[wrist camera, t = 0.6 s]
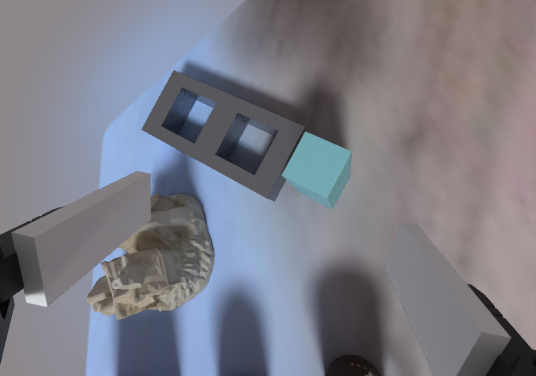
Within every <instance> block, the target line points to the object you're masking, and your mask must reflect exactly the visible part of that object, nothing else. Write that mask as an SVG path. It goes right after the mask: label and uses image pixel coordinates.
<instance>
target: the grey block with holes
mask: <svg viewBox="0 0 536 376" xmlns="http://www.w3.org/2000/svg"><path fill="white" fill-rule="evenodd" d="M196 100H197V101H200V102H202V103H204V104H206V105H208V106H210V107H213V108H214V109H213V111H212V112H211V114H210V116H209V118H208V120H207V122H206V123H205V125H204V127H203V129H202V131H201V133H200V135H199V136H198V138H197V140H196V142H195V144H194V143H192V142H190V141H188V140H186V139H185V138H183V137H181V136H179V135H178V133H179V131H180V129H181V127H182V125H183V124H184V122H185V120H186V118H187V116H188V114H189V112H190V111H191V109H192V107H193V105H194V103H195V101H196ZM247 124H250V125H252V126H254V127H256V128H258V129H261V130H263V131H265V132H267V133H269V134H271V135H274V136H276V137H275V138H274V140H273V142H272V144H271V146H270V148H269V150H268V151H267V153H266V155H265V157H264V159H263V161H262V163H261V164H260V166H259V168H258V170H257V172H256V174H255V175H253V174H251V173H249V172H247V171H246V170H244V169H242V168H240V167H238V166H236V165H234V164H232V163H230V162H228V159H229V158H230V156H231V154H232V152H233V150H234V148H235V146H236V145H237V143H238V141H239V139H240V137H241V135H242V134H243V132H244V130H245V128H246V126H247ZM141 130H143V131H145V132H147V133H148V134H150V135H152V136H154V137H156V138H158V139H159V140H161V141H163V142H165V143H167V144H169V145H170V146H172V147H174V148H176V149H178V150H180V151H181V152H183V153H185V154H187V155H189V156H191V157H192V158H194V159H196V160H198V161H200V162H201V163H203V164H205V165H207V166H209V167H211V168H212V169H214V170H216V171H218V172H220V173H222V174H223V175H225V176H227V177H229V178H231V179H233V180H234V181H236V182H238V183H240V184H242V185H244V186H245V187H247V188H249V189H251V190H253V191H255V192H256V193H258V194H260V195H262V196H264V197H265V198H267V199H270V200H272V201H275V200H276V198H277V196H278V194H279V192H280V190H281V188H282V186H283V185H284V183H285V181H286V179H285V178H284V177H283V176H282V174H283V172H284V170H285V168H286V167H287V165H288V163H289V161H290V159H291V157H292V155H293V154H294V152H295V150H296V148H297V146H298V144H299V142H300V140H301V139H302V137H303V135H304V133H305V132H307V131H306V128H305V126H302V125H300V124H298V123H296V122H293V121H291V120H289V119H286V118H284V117H282V116H279V115H277V114H275V113H272V112H270V111H268V110H265V109H263V108H261V107H258V106H256V105H254V104H251V103H249V102H247V101H244V100H242V99H240V98H237V97H235V96H233V95H230V94H228V93H226V92H223V91H221V90H219V89H216V88H214V87H212V86H209V85H207V84H205V83H202V82H200V81H198V80H195V79H193V78H191V77H188V76H186V75H184V74H181V73H179V72H177V71H173V73H172V74H171V76H170V78H169V80H168V82H167V84H166V85H165V87H164V89H163V91H162V93H161V95H160V96H159V98H158V100H157V102H156V104H155V106H154V107H153V109H152V111H151V113H150V115H149V117H148V118H147V120H146V122H145V124H144V126H143V128H142V129H141Z"/></svg>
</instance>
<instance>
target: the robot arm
mask: <svg viewBox="0 0 536 376" xmlns="http://www.w3.org/2000/svg"><path fill="white" fill-rule="evenodd" d="M150 220H151V185H150V174H149V173H144V172H139V171H136V172H134V173H132V174H130V175H128V176H126V177H124V178H122V179H120V180H118V181H116V182H114V183H111V184H109V185H107V186H105V187H103V188H101V189H99V190H97V191H95V192H93V193H91V194H89V195H87V196H85V197H83V198H81V199H79V200H77V201H75V202H73V203H71V204H68V205H66V206H64V207H60V208H56V209H53V210H51V211H49V212H47V213H45V214H43V215H42V216H39V217H36V218H35V219H33V220H32V221H28V222H26V223H24V224H22V225H20V226H18V227H16V228H14V229H11V230H9V231H7V232H5V233H3V234H1V235H0V363H1V359H2V355H3V351H4V346H5V342H6V338H7V334H8V330H9V326H10V321H11V317H12V313H13V309H14V305H15V304H14V299H13V295H15V294H16V293H17V292H19V291H20V290H22V289H23V288H24V293H25V297H26V302H28V303H32V304H37V305H41V306H46V307H48V306H49V305H50V304H51V303H53V302H54V301H55V300H56V299H57V298H59V297H60V296H61V295H62V294H63V293H64V292H66V291H67V290H68V289H69V288H70V287H71V286H73V285H74V284H75V283H76V282H77V281H79V280H80V279H81V278H82V277H83V276H84V275H86V274H87V273H88V272H89V271H90V270H92V269H93V268H94V267H95V266H96V265H98V264H99V263H100V262H101V261H102V260H103V259H105V258H106V257H107V256H108V255H109V254H111V253H112V252H113V251H114V250H115V249H116V248H118V247H119V246H120V245H121V244H122V243H124V242H125V241H126V240H127V239H128V238H130V237H131V236H132V235H133V234H134V233H135V232H137V231H138V230H139V229H140V228H141V227H143V226H144V225H145V224H146V223H147V222H148V221H150ZM385 268H386V270H387V272H388V274H389V277H390V279H391V281H392V283H393V286H394V288H395V290H396V292H397V295H398V297H399V299H400V301H401V304H402V306H403V308H404V310H405V313H406V315H407V317H408V319H409V322H410V324H411V326H412V328H413V331H414V333H415V335H416V337H417V340H418V342H419V344H420V346H421V349H422V351H423V353H424V355H425V358H426V360H427V362H428V364H429V367H430V369H431V371H432V373H433V376H536V350H533V349H531V347H530V346H529V345H528V344H527V343H526V342H525V341H524V339H523V338H522V337H521V336H520V335H519V334H518V332H517V331H516V330H515V329H514V328H513V327H512V326H511V324H510V323H509V322H508V321H507V320H506V319H505V318H503V315H502V314H501V313H500V312H499V311H498V309H496V308H495V306H494V305H493V304H492V302H491V301H490V300H489V299H488V298H487V297H486V296H485V295H484V294H483V293H482V292H480V291H479V290H478V289H476V288H475V287H474V286H472V285H470V284H466V282H465V281H464V280H463V279H462V278H461V276H460V275H459V274H458V273H457V272H456V270H455V269H454V268H453V267H452V265H451V264H450V263H449V262H448V261H447V259H446V258H445V257H444V256H443V255H442V253H441V252H440V251H439V250H438V248H437V247H436V246H435V245H434V244H433V242H432V241H431V240H430V239H429V238H428V236H427V235H426V234H425V233H424V231H423V230H422V229H421V228H420V227H419V225H418V224H416V223H411V222H405V221H401V223H400V226H399V229H398V232H397V234H396V237H395V240H394V242H393V245H392V248H391V251H390V253H389V256H388V259H387V262H386V264H385Z"/></svg>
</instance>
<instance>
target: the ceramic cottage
mask: <svg viewBox="0 0 536 376" xmlns="http://www.w3.org/2000/svg"><path fill="white" fill-rule="evenodd" d="M119 248H121V249H122V250H126V251H127V252H128V254H127V255H123V256H121V257H119V258H115V259H113V260H111V261H110V262H107V261H104V262H102V263H101V265H102V268H103V270H104V272H105V276H103V277H101V278H99V280H98V281H97V282H96V284H95V285H94V287H93V289H92V290H91V292H90V293H89V294H88V296H87V301H86V302H87V303H88V302H89V303H90V304H91V305H93V306H92V309H93V310H94V312H101V313H102V314H103V315H106V316H110V315H112V314H116V317H117V320H121V319H123V318H125V317H127V316H130V315H133V314H136V313H139V312H141V311H144V310H147V309H149V310H158V311H159V312H162V311H166V310H175V309H177V308H178V307H180V306H183V304H184V303H186V302H187V301H189V300H191V299H193V298H194V297H195V296H196V295H198V293H200V292H201V291H202V290H203V289H204V288H205V287H206V285H207V284H208V282H209V279H210V276H211V273H212V270H213V266H214V256H215V254H214V249H213V246H212V242H211V239H210V235H209V233H208V227H207V223H206V221H205V217H204V214H203V210H202V207H201V205H200V203H199V202H198V201H197V200H196V199H195V197H193V196H190V195H187V194H181V193H180V194H176V195H170V196H162V197H160V195H159V193H157V194H155V195H154V196H152V197H151V220H150V221H148V222H147V223H146V224H145V225H144V226H143V227H141V228H140V229H139V230H138V231H137V232H135V233H134V234H133V235H132V236H131V237H130V238H128V239H127V240H126V241H125V242H124V243H122V244H121V245H120V246H119Z"/></svg>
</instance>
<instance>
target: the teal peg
mask: <svg viewBox="0 0 536 376" xmlns="http://www.w3.org/2000/svg"><path fill="white" fill-rule="evenodd" d="M351 156H352V152H351V151H349V150H347V149H344V148H342V147H340V146H338V145H335V144H333V143H331V142H328V141H326V140H324V139H322V138H319V137H317V136H315V135H312V134H310V133H308V132H305V133H304V135H303V137H302V139H301V140H300V142H299V144H298V146H297V148H296V150H295V152H294V154H293V155H292V157H291V159H290V161H289V163H288V165H287V167H286V168H285V170H284V172H283V174H282V176H283V177H284V178H285V179H286V180H287V181H288V182H290V183H291V184H292V185H293V186H294V187H295V188H296V189H297V190H298V191H299V192H300V193H302V194H304V195H306V196H308V197H310V198H311V199H313V200H315V201H317V202H319V203H321V204H323V205H325V206H327V207H329V208H331V209H333V207H334V205H335V204H336V202H337V200H338V198H339V196H340V194H341V192H342V190H343V189H344V187H345V185H346V183H347V181H348V179H349V175H350V166H351Z"/></svg>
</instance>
